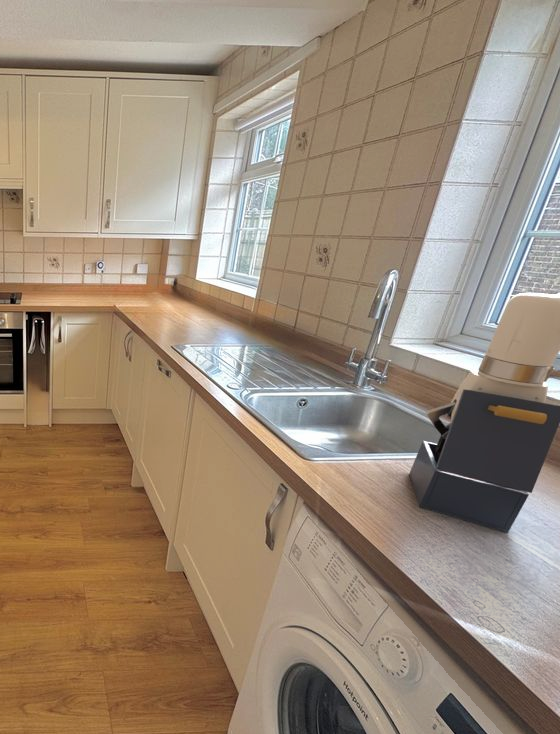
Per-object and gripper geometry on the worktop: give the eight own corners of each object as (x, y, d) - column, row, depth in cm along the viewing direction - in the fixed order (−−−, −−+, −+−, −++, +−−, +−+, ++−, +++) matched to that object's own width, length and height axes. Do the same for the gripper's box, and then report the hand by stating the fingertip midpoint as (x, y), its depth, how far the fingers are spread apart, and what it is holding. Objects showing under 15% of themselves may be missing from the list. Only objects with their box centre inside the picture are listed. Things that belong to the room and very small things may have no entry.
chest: (409, 473, 84) (422, 440, 81) (485, 493, 78) (503, 458, 75) (419, 507, 73) (435, 470, 71) (508, 533, 68) (529, 494, 65)
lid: (463, 388, 68) (475, 392, 63) (563, 406, 62) (585, 411, 58) (435, 467, 71) (444, 476, 66) (529, 491, 65) (547, 503, 60)
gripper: (580, 375, 66) (530, 469, 72) (438, 355, 75) (405, 440, 81) (604, 389, 60) (546, 490, 66) (447, 365, 69) (410, 456, 75)
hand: (469, 462), depth 74 cm, fingers open, 6 cm apart
